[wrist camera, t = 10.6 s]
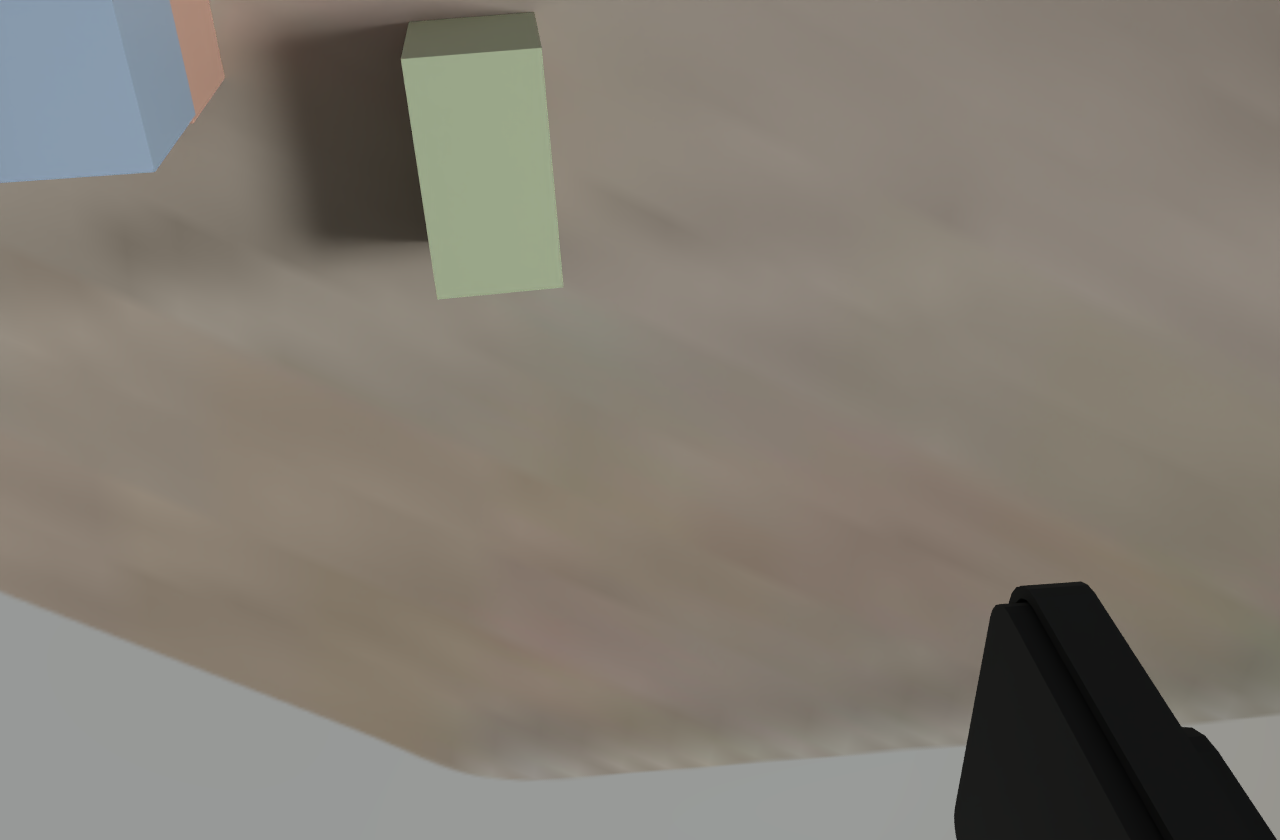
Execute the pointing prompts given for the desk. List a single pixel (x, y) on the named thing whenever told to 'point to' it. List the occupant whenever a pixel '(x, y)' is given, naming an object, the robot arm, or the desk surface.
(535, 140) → the olive brick
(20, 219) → the desk surface
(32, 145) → the blue brick
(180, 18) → the terracotta brick
